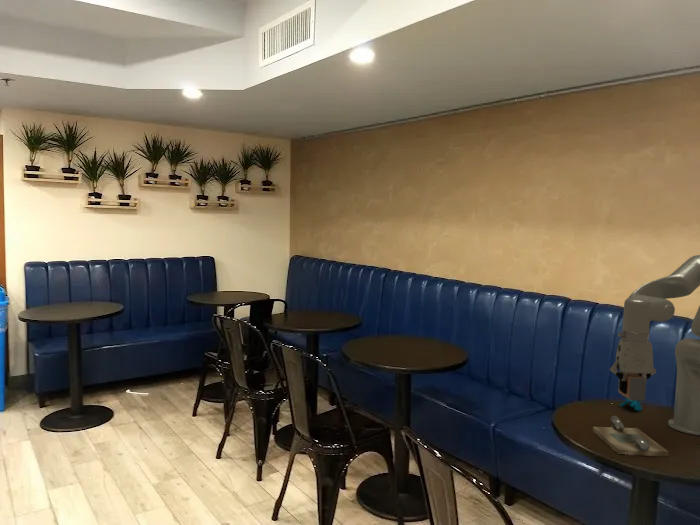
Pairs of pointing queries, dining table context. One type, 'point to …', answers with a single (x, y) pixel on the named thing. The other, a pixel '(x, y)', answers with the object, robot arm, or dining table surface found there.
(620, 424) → the shaft angled
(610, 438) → the base
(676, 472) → the dining table surface
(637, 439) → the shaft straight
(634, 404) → the gear
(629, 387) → the orange and grey block
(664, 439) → the dining table surface
